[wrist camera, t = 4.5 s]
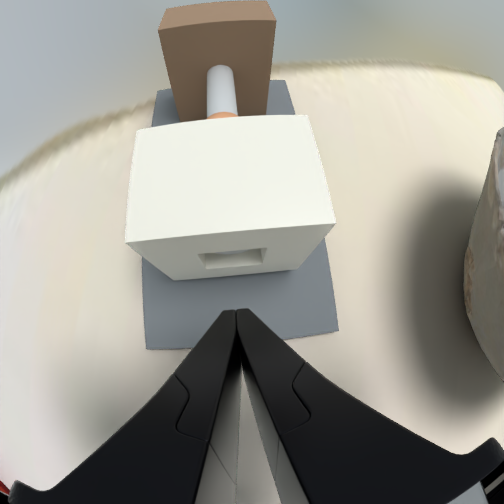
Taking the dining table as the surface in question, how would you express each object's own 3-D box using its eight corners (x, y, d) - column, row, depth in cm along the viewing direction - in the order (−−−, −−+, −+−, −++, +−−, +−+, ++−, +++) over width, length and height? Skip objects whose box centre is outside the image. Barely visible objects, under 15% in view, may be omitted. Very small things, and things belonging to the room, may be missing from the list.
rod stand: (334, 330, 17) (428, 325, 7) (150, 348, 16) (56, 360, 7) (284, 86, 23) (298, -2, 13) (159, 96, 22) (135, 11, 12)
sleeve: (297, 269, 16) (336, 223, 9) (173, 280, 16) (125, 242, 9) (284, 192, 17) (307, 114, 10) (172, 202, 17) (136, 130, 10)
